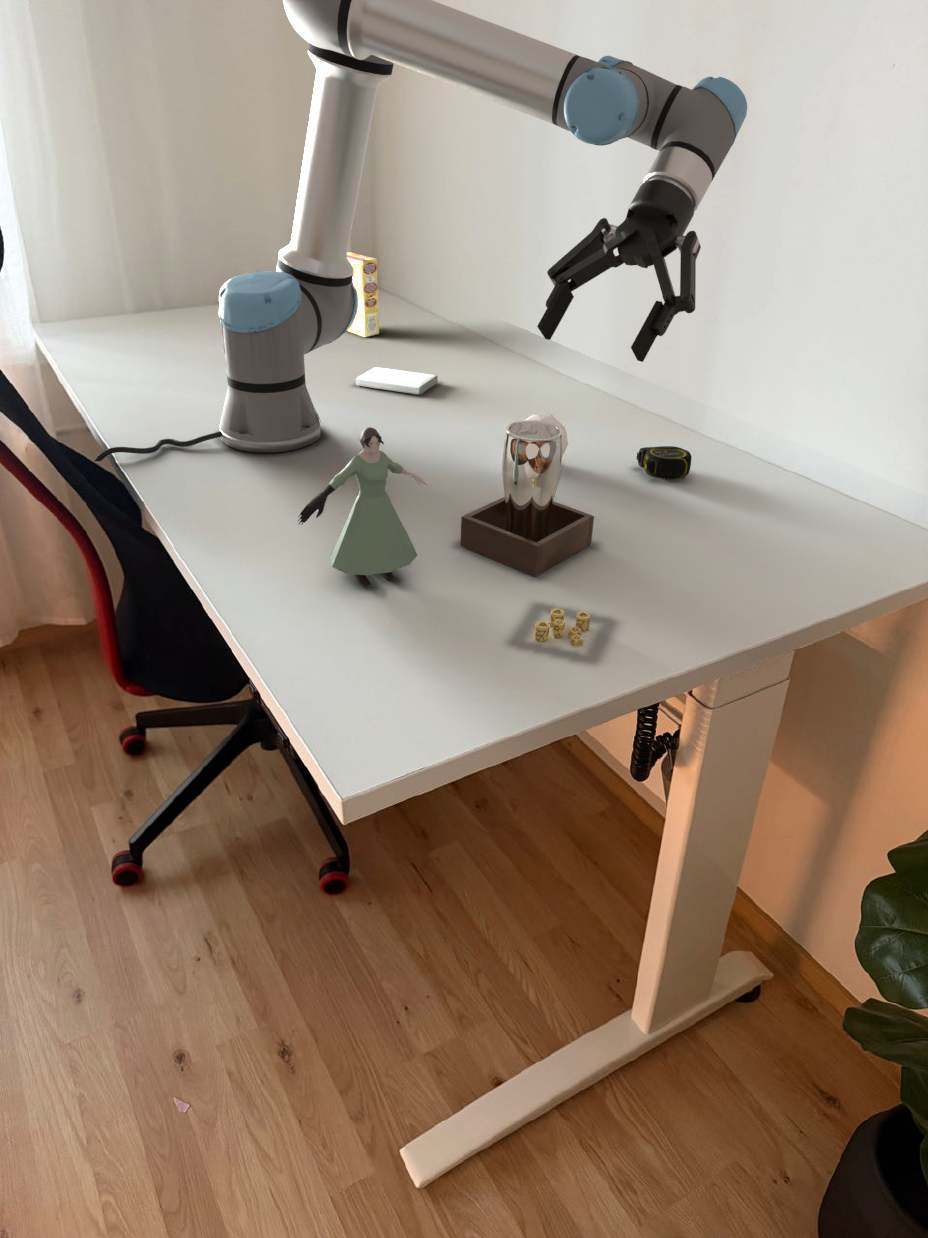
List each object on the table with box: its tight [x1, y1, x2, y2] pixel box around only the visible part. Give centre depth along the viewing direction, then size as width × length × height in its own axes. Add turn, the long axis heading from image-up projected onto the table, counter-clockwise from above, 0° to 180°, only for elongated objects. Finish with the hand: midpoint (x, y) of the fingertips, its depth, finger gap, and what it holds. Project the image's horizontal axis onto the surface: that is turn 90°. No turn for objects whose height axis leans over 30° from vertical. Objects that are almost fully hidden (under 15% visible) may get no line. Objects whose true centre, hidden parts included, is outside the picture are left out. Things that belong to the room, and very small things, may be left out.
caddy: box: [459, 495, 595, 578], centre depth 116 cm, size 12×12×4 cm
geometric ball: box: [524, 413, 569, 457], centre depth 138 cm, size 8×8×8 cm
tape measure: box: [636, 445, 692, 481], centre depth 137 cm, size 7×7×4 cm
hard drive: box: [355, 366, 439, 396], centre depth 171 cm, size 2×8×12 cm
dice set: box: [534, 608, 591, 648], centre depth 100 cm, size 5×5×2 cm
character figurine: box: [297, 426, 428, 587], centre depth 104 cm, size 16×8×18 cm, turn 121°
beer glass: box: [501, 419, 563, 543], centre depth 114 cm, size 7×7×15 cm
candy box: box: [346, 252, 380, 338], centre depth 197 cm, size 9×4×15 cm, turn 44°
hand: (588, 343), depth 115 cm, fingers open, 13 cm apart
